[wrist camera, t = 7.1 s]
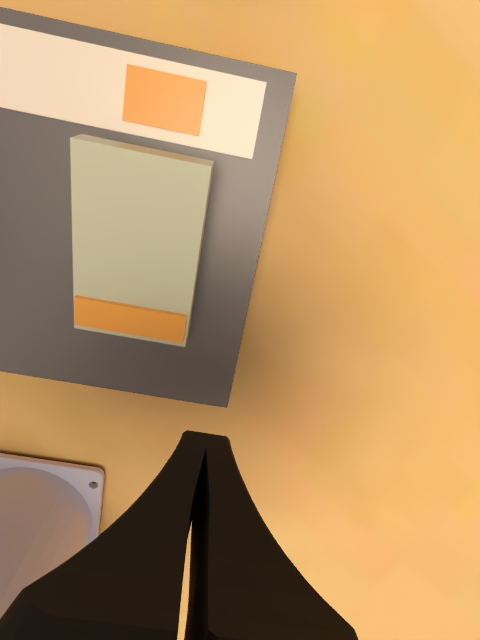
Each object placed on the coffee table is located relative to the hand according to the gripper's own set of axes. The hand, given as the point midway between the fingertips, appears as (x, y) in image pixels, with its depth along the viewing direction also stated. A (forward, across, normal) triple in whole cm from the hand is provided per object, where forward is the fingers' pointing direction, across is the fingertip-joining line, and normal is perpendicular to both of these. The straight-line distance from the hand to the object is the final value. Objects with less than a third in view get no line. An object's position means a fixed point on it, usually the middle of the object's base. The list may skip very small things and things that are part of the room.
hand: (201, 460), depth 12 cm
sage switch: (+5, +4, -5) cm, 8 cm away
